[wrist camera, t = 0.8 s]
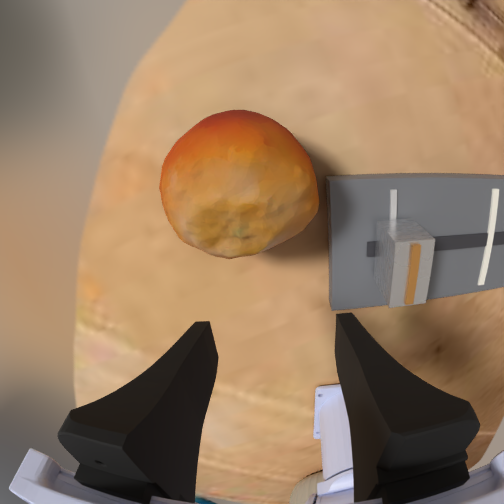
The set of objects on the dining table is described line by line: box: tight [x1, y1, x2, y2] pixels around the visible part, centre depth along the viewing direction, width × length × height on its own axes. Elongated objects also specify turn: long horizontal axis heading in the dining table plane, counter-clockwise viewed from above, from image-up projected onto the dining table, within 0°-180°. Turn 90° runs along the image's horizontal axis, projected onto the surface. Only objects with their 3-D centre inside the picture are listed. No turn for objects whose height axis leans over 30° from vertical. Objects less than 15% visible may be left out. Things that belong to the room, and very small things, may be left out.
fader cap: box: [374, 218, 435, 308], centre depth 16 cm, size 4×2×4 cm, turn 7°
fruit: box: [159, 110, 319, 259], centre depth 16 cm, size 8×8×8 cm
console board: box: [326, 173, 504, 311], centre depth 18 cm, size 9×16×2 cm, turn 97°
